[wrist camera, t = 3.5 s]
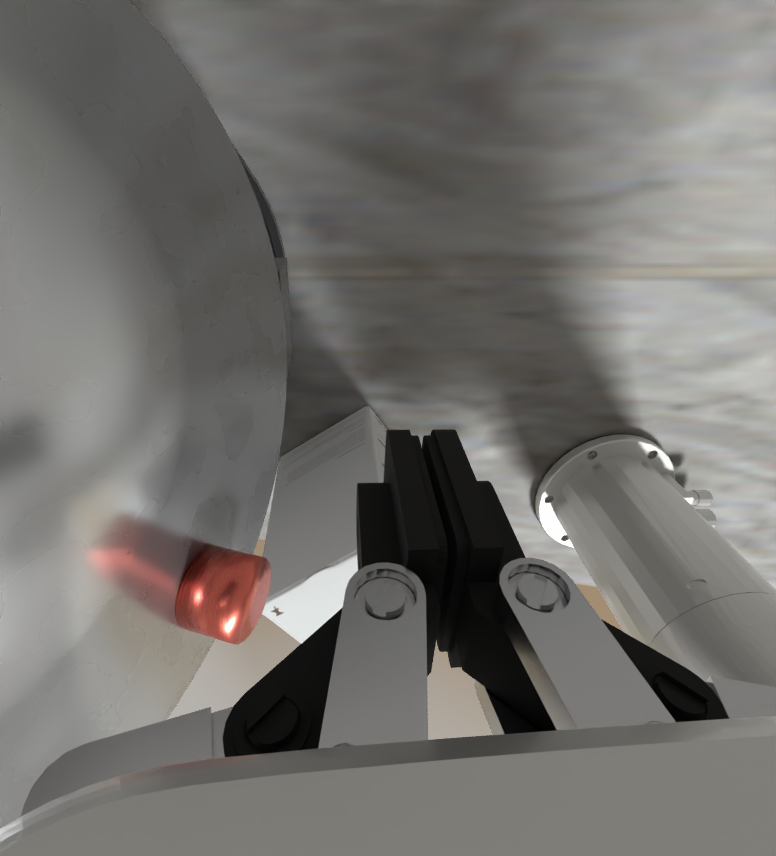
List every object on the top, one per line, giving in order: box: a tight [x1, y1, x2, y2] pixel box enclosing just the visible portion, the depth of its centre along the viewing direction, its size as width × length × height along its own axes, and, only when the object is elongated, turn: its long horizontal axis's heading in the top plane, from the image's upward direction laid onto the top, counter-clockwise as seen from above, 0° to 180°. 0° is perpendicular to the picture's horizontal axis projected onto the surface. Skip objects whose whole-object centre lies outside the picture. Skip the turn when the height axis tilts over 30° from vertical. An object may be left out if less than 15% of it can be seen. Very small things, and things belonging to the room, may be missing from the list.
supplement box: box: [262, 406, 387, 644], centre depth 33 cm, size 9×9×15 cm
